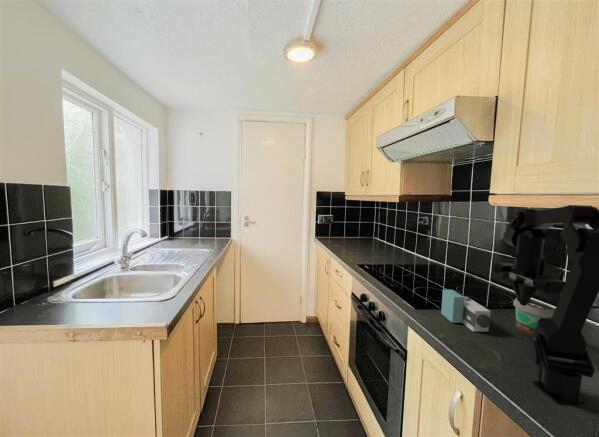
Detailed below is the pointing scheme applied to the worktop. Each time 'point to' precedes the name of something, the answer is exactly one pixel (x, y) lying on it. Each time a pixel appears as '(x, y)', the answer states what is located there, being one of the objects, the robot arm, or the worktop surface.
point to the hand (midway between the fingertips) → (523, 305)
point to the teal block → (452, 306)
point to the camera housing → (475, 316)
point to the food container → (529, 316)
